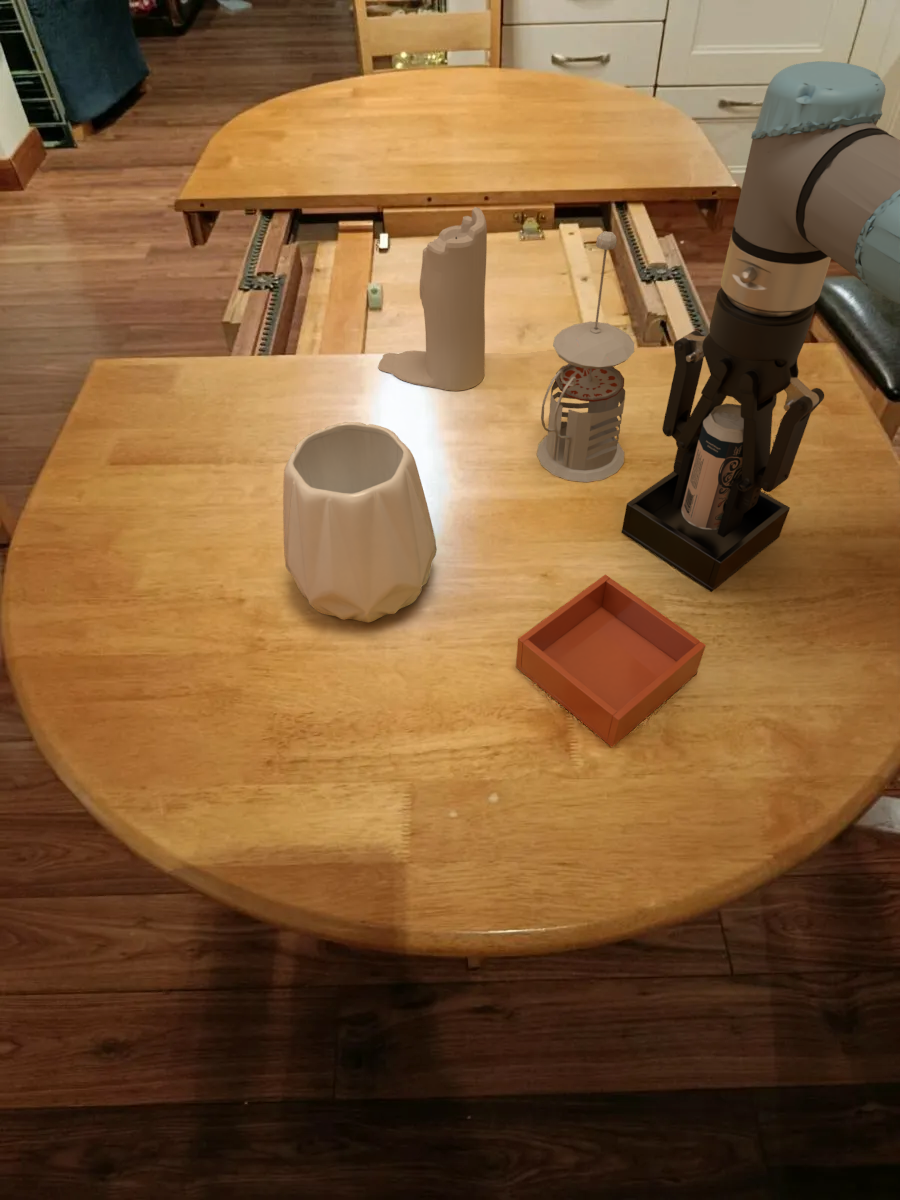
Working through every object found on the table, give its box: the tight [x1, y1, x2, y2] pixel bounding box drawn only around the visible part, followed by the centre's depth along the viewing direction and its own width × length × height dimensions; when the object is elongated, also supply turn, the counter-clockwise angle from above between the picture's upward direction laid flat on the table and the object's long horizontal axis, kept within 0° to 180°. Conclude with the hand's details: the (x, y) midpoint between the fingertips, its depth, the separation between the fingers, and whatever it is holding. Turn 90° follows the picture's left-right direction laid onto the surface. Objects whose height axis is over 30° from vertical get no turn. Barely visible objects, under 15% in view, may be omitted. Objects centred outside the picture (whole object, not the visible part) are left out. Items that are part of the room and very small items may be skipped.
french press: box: [536, 230, 635, 483], centre depth 85 cm, size 10×12×25 cm
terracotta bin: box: [515, 574, 706, 748], centre depth 73 cm, size 11×11×4 cm
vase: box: [282, 421, 438, 623], centre depth 77 cm, size 14×14×15 cm
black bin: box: [621, 470, 791, 593], centre depth 84 cm, size 11×11×4 cm
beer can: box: [681, 402, 744, 530], centre depth 79 cm, size 5×5×12 cm
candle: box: [377, 206, 488, 392], centre depth 99 cm, size 7×14×20 cm, turn 72°
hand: (705, 514), depth 84 cm, fingers closed on beer can, 5 cm apart
